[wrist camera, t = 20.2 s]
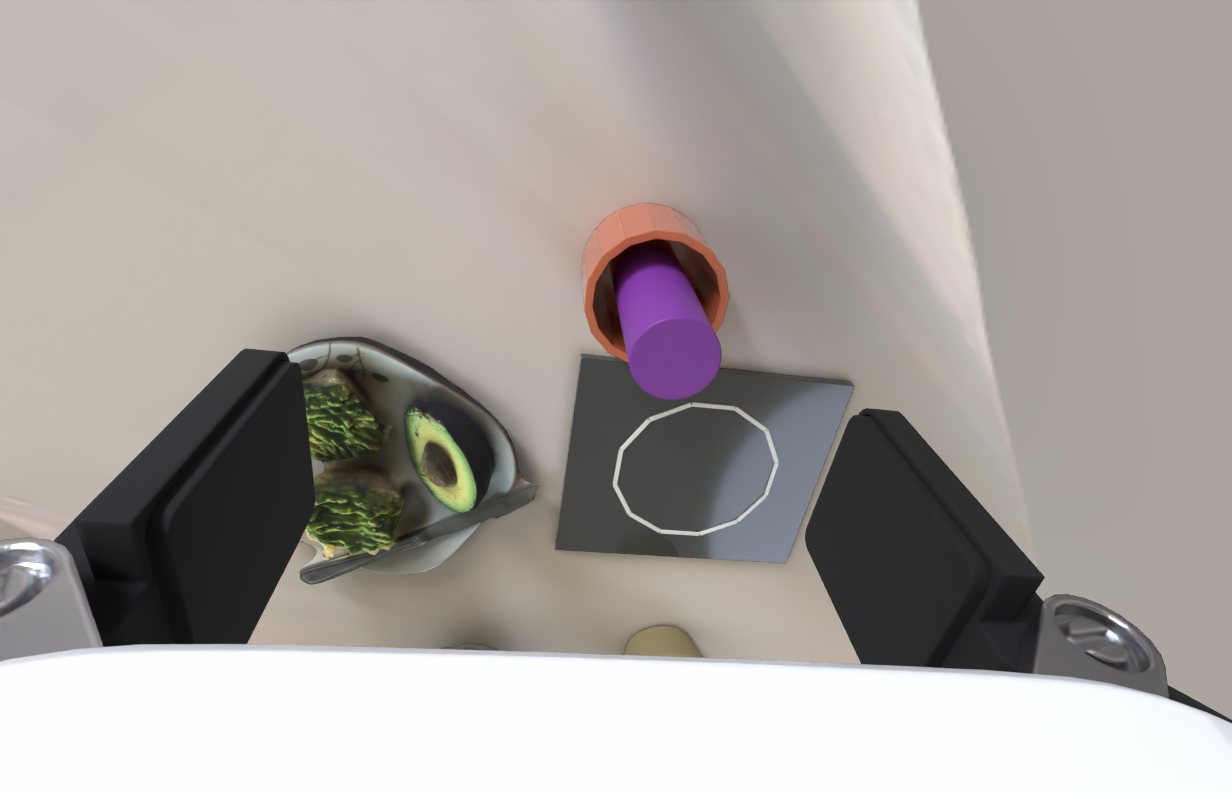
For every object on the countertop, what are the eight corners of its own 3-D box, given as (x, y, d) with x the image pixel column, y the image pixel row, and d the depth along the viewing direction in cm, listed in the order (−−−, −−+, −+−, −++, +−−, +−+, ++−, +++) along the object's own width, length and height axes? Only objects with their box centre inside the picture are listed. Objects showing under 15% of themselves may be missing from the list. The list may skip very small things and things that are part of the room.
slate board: (581, 353, 39) (581, 358, 39) (851, 381, 42) (855, 386, 41) (554, 544, 47) (554, 551, 46) (783, 557, 50) (786, 564, 49)
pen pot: (590, 194, 34) (595, 221, 30) (719, 212, 35) (743, 241, 31) (575, 317, 38) (576, 359, 33) (692, 330, 39) (710, 372, 34)
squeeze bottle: (695, 604, 51) (751, 853, 36) (713, 664, 56) (772, 911, 40) (600, 628, 52) (616, 883, 37) (625, 685, 56) (649, 936, 41)
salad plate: (410, 609, 49) (397, 660, 45) (179, 500, 42) (140, 549, 39) (566, 450, 43) (567, 493, 39) (323, 291, 36) (293, 324, 32)
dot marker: (617, 235, 35) (637, 311, 26) (686, 244, 36) (731, 322, 26) (606, 301, 37) (622, 396, 28) (673, 309, 38) (710, 404, 28)
